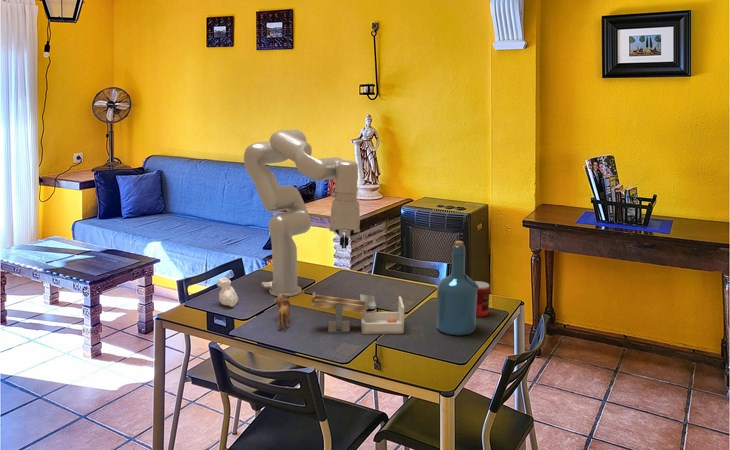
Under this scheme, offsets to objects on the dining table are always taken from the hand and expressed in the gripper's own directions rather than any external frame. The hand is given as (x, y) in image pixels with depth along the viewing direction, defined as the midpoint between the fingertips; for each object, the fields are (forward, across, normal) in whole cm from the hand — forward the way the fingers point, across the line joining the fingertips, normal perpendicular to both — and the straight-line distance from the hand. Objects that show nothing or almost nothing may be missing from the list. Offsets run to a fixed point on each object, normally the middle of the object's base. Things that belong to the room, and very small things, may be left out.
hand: (343, 247), depth 211 cm
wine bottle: (+21, +38, -20) cm, 48 cm away
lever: (+15, 0, -13) cm, 20 cm away
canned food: (+21, +48, -6) cm, 53 cm away
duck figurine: (+25, -42, +7) cm, 49 cm away
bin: (+22, +13, -18) cm, 32 cm away
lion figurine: (+24, -20, -14) cm, 34 cm away
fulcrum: (+23, -1, -18) cm, 29 cm away
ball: (+20, +16, -18) cm, 31 cm away
